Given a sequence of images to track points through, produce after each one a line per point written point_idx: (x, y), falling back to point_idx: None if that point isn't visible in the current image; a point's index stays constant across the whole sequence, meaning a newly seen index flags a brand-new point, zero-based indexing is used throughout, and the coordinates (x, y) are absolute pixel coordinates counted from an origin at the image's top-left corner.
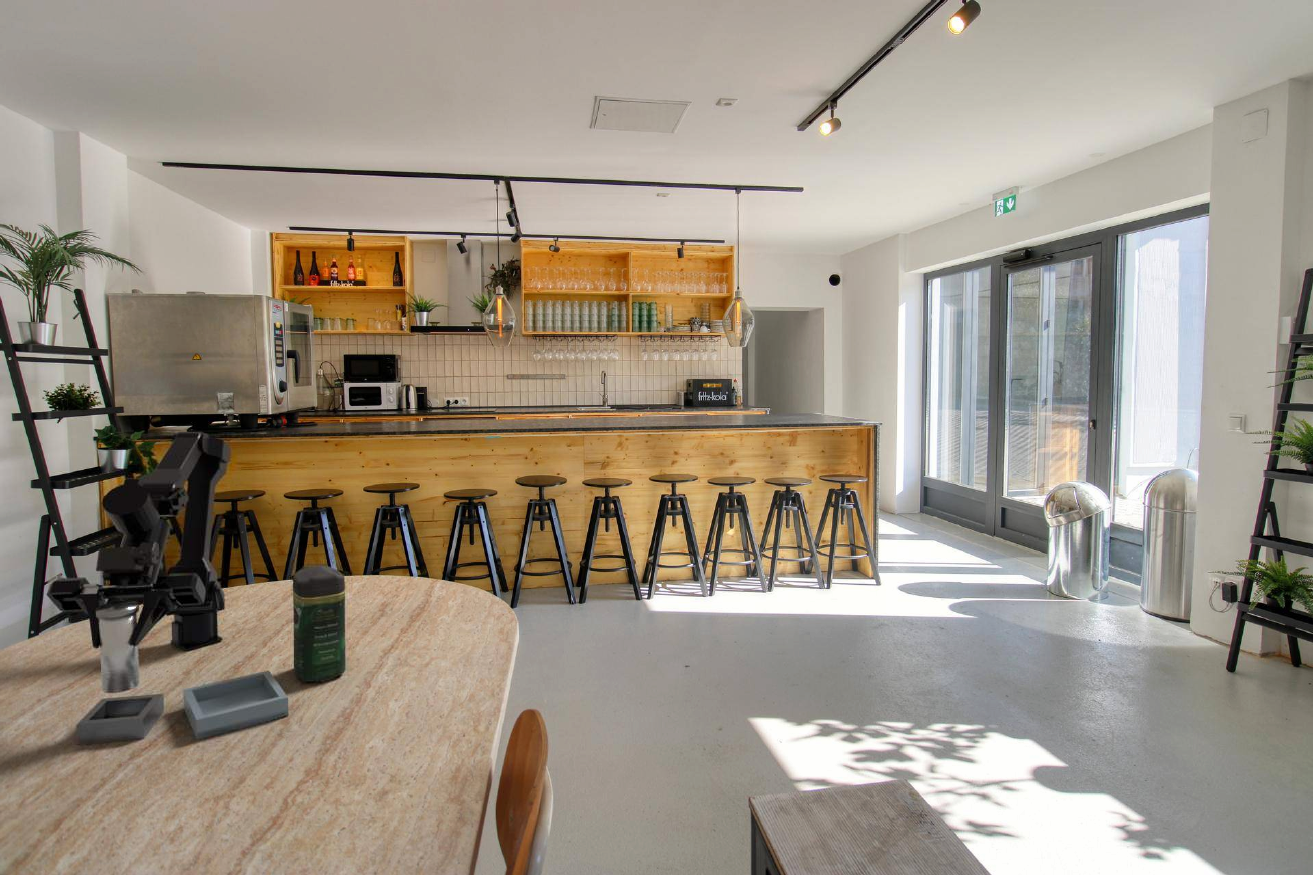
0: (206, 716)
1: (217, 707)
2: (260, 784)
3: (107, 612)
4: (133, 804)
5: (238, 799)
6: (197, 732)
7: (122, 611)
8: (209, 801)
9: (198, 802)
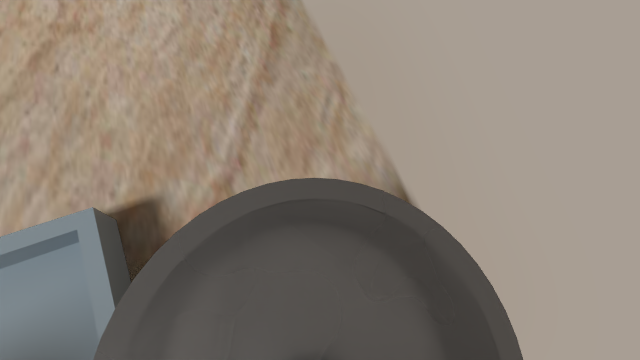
0: (69, 220)
1: (62, 356)
2: (7, 41)
3: (347, 184)
4: (192, 48)
5: (44, 16)
6: (107, 216)
7: (223, 202)
8: (87, 24)
9: (102, 26)
